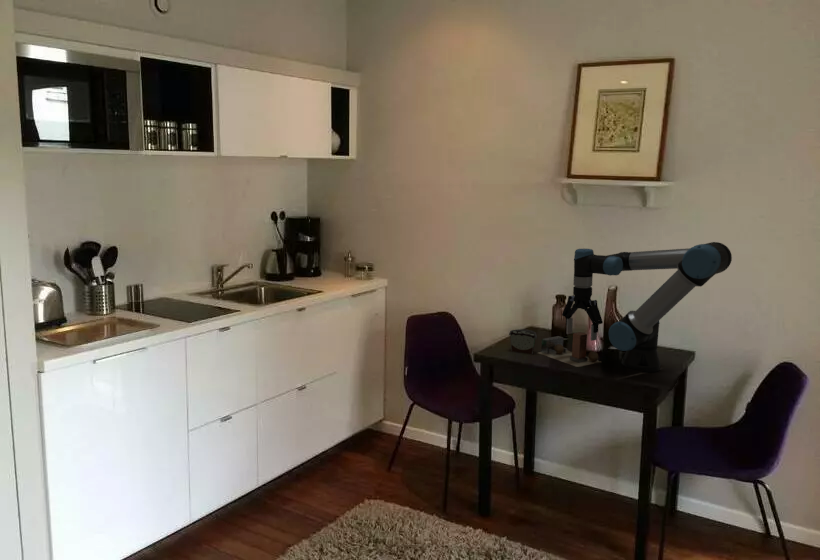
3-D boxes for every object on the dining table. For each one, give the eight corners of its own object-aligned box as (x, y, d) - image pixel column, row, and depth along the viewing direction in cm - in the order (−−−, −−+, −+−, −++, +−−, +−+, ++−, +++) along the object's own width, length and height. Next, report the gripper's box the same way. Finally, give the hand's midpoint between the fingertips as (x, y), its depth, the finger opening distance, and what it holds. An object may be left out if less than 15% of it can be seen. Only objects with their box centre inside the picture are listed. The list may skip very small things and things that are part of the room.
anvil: (569, 352, 301) (569, 339, 299) (552, 356, 295) (552, 342, 294) (557, 349, 306) (558, 335, 305) (541, 352, 301) (541, 338, 300)
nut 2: (600, 361, 288) (600, 352, 287) (593, 363, 286) (593, 353, 285) (592, 359, 291) (593, 349, 291) (585, 360, 289) (586, 351, 288)
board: (601, 364, 288) (601, 361, 288) (577, 369, 281) (577, 367, 280) (560, 350, 308) (560, 348, 308) (536, 354, 300) (536, 352, 300)
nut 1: (565, 354, 298) (566, 344, 298) (558, 355, 296) (559, 346, 295) (558, 351, 302) (559, 342, 301) (551, 353, 300) (552, 343, 299)
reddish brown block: (587, 360, 289) (589, 334, 286) (578, 362, 286) (580, 335, 284) (578, 357, 293) (580, 331, 291) (569, 359, 290) (571, 333, 288)
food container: (539, 353, 303) (540, 331, 301) (535, 356, 298) (536, 334, 296) (512, 349, 308) (513, 327, 307) (508, 353, 303) (509, 330, 301)
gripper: (612, 289, 275) (610, 341, 279) (567, 281, 296) (566, 329, 299) (599, 291, 271) (597, 344, 275) (554, 283, 292) (553, 332, 295)
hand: (581, 336), depth 287 cm, fingers open, 13 cm apart
